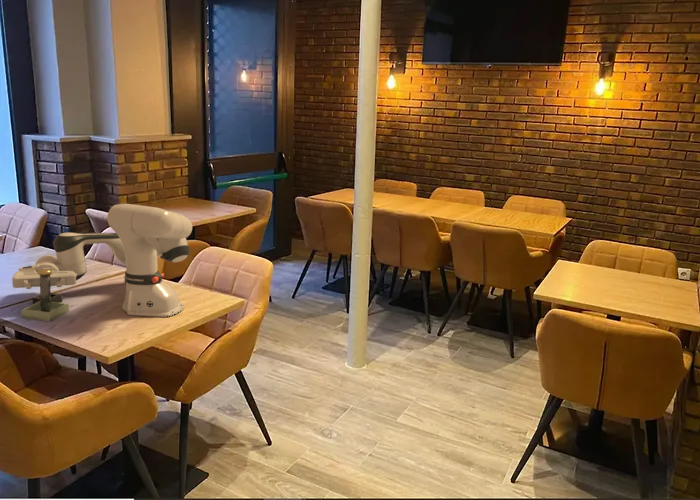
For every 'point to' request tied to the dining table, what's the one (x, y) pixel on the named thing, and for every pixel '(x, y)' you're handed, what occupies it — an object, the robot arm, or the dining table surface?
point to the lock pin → (45, 289)
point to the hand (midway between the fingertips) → (44, 285)
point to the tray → (37, 314)
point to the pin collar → (53, 298)
